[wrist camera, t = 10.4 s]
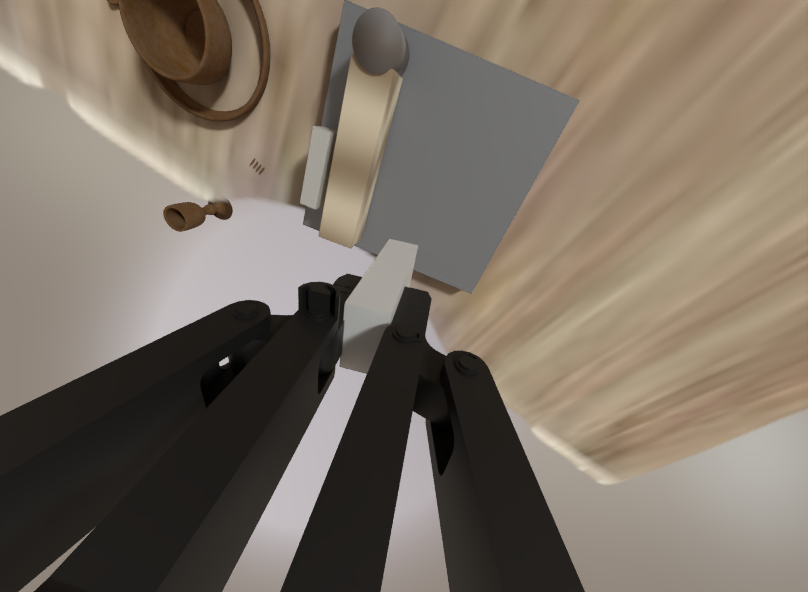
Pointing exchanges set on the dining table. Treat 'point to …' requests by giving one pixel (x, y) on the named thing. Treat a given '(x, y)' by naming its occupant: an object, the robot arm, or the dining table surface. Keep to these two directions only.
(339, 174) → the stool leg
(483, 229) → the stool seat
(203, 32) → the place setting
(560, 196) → the dining table surface
